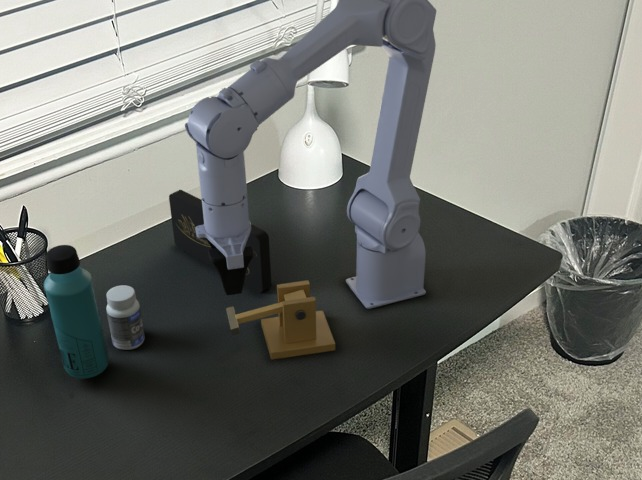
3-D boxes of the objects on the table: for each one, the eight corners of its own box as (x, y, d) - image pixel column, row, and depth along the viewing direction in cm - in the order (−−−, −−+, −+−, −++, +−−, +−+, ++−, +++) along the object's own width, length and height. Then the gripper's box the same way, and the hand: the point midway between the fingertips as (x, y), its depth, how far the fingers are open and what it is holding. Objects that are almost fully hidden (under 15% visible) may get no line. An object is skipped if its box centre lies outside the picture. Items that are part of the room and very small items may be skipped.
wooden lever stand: (271, 359, 126) (268, 314, 121) (261, 325, 132) (258, 280, 127) (335, 350, 126) (335, 304, 121) (322, 316, 132) (322, 271, 128)
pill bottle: (140, 351, 130) (132, 303, 125) (108, 350, 131) (99, 302, 125) (148, 331, 133) (140, 283, 128) (117, 330, 134) (108, 282, 129)
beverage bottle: (118, 361, 128) (95, 239, 116) (99, 392, 124) (73, 267, 111) (77, 355, 130) (49, 234, 118) (56, 385, 126) (25, 262, 113)
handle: (233, 339, 125) (229, 325, 123) (228, 317, 129) (224, 304, 127) (311, 317, 124) (308, 303, 123) (304, 297, 128) (301, 283, 126)
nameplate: (271, 289, 139) (268, 232, 133) (262, 294, 138) (259, 237, 132) (183, 241, 152) (177, 187, 146) (175, 246, 151) (168, 192, 145)
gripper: (186, 172, 119) (196, 260, 128) (198, 228, 108) (208, 321, 116) (239, 165, 120) (246, 253, 128) (257, 220, 108) (263, 313, 117)
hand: (232, 285), depth 122 cm, fingers open, 3 cm apart
